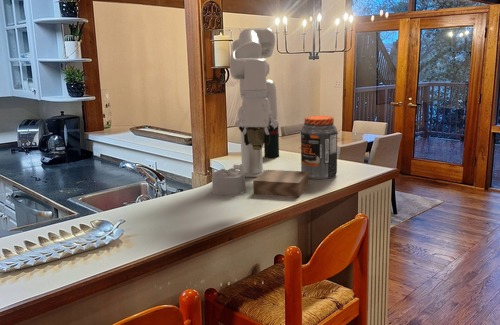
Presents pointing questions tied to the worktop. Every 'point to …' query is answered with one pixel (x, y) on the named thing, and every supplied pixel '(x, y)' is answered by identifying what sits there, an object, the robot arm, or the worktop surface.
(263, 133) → the cup
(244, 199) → the worktop surface
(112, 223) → the worktop surface
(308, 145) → the supplement tub
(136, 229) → the worktop surface
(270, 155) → the wine bottle
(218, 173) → the grey studded block
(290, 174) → the walnut block
